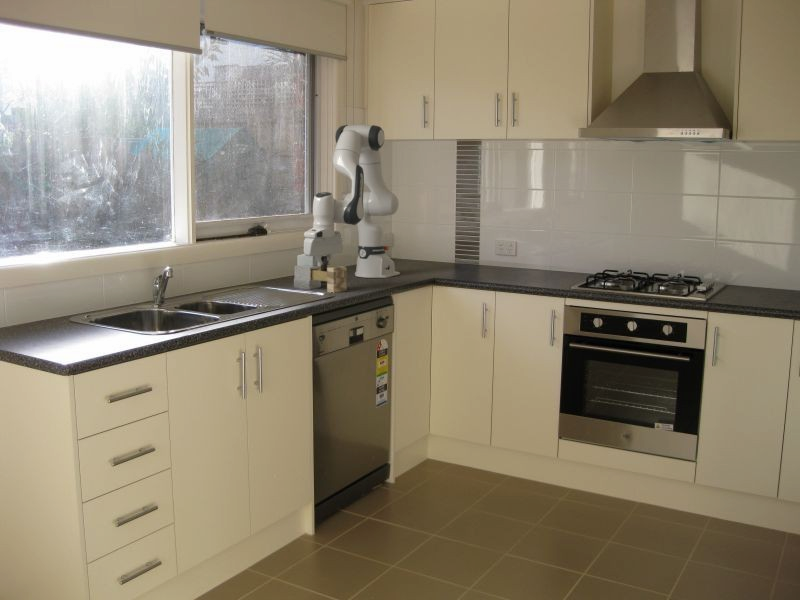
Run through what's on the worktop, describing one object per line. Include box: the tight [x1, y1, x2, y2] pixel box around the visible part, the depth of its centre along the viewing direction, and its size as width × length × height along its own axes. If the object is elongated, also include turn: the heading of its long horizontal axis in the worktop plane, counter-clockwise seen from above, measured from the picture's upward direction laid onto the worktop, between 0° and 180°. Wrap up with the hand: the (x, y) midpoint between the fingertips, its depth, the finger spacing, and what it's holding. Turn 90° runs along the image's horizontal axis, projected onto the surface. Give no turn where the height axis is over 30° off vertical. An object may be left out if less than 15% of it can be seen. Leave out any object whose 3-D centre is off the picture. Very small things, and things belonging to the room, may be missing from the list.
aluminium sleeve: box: [293, 265, 322, 290], centre depth 368 cm, size 7×9×9 cm
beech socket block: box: [326, 265, 348, 294], centre depth 358 cm, size 8×4×10 cm, turn 142°
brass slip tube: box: [311, 255, 328, 282], centre depth 363 cm, size 4×16×10 cm, turn 52°
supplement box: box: [296, 253, 318, 266], centre depth 380 cm, size 7×7×13 cm
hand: (323, 265), depth 361 cm, fingers closed on brass slip tube, 3 cm apart
